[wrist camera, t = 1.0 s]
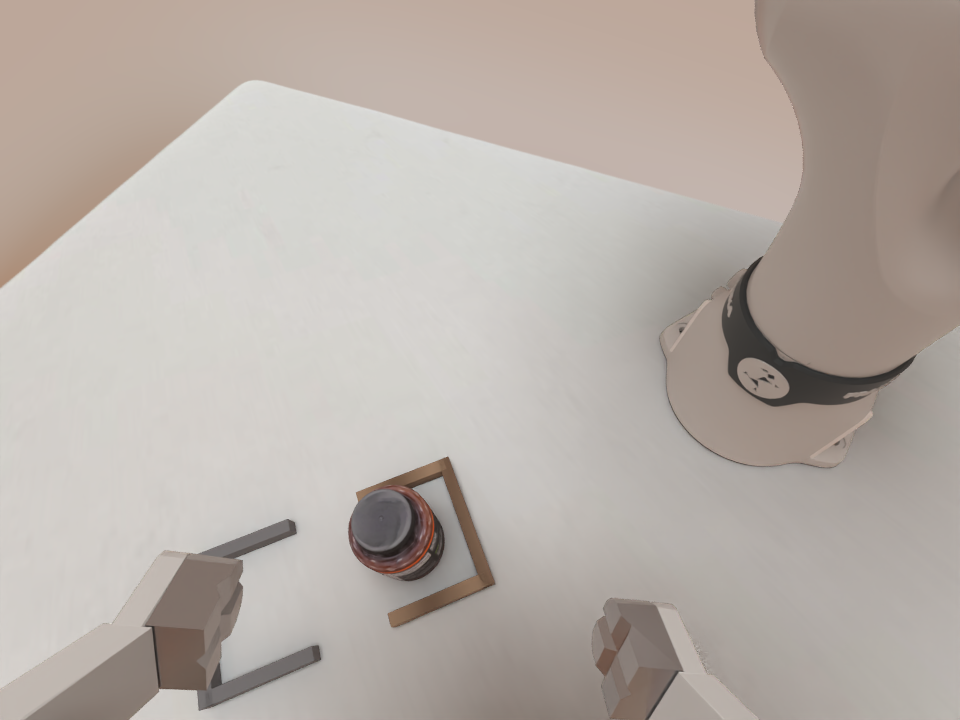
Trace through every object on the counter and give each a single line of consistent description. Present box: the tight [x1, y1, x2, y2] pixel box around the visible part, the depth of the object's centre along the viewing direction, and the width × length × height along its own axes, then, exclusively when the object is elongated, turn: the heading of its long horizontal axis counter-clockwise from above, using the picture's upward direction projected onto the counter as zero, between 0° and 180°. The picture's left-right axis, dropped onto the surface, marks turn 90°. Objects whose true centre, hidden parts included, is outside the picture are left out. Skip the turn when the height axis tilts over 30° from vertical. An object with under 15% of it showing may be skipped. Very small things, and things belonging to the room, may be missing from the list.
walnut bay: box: [356, 457, 495, 627], centre depth 41 cm, size 8×11×2 cm
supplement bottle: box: [348, 485, 444, 581], centre depth 36 cm, size 6×6×11 cm
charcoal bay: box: [197, 519, 321, 711], centre depth 39 cm, size 8×11×2 cm
